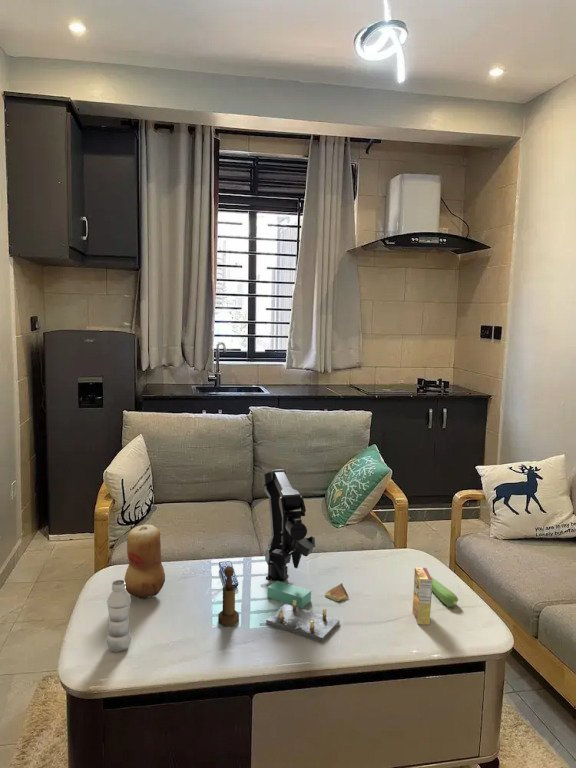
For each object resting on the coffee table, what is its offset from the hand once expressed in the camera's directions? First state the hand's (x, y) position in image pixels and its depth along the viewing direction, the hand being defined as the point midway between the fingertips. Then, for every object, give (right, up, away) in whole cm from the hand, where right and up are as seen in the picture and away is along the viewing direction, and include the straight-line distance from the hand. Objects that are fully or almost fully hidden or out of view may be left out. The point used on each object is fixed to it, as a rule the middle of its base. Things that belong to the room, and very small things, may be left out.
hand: (289, 572), depth 196 cm
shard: (+16, -10, +5) cm, 20 cm away
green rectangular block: (0, -10, +1) cm, 10 cm away
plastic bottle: (-50, -12, -31) cm, 59 cm away
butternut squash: (-50, -9, +1) cm, 51 cm away
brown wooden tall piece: (-19, -11, -14) cm, 27 cm away
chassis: (+4, -11, -15) cm, 19 cm away
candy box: (+43, -12, -10) cm, 46 cm away
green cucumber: (+53, -10, +5) cm, 55 cm away
